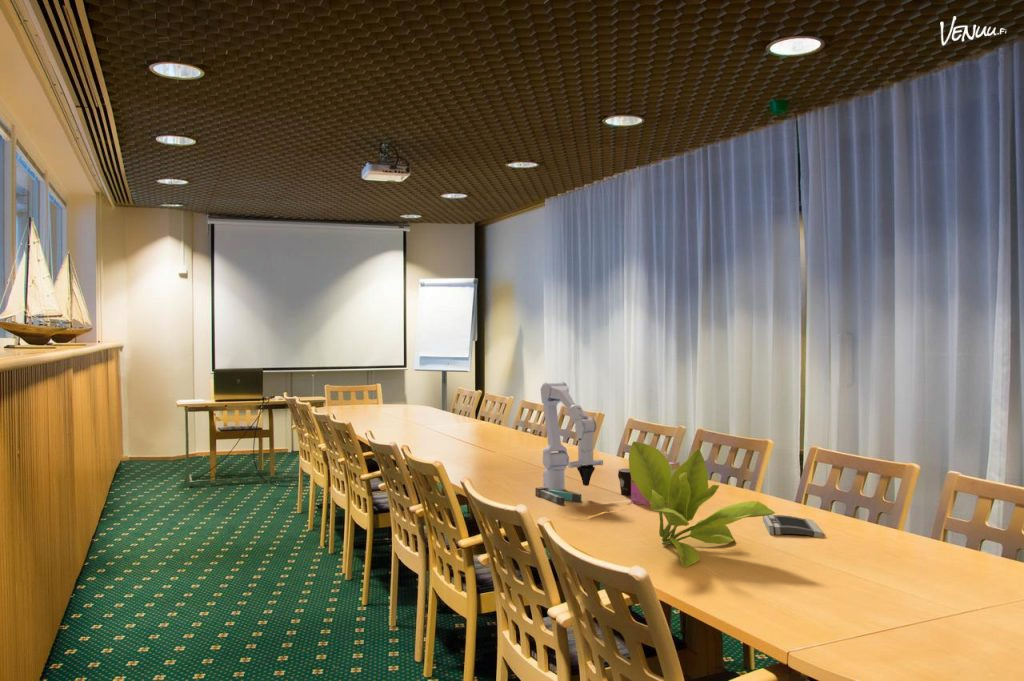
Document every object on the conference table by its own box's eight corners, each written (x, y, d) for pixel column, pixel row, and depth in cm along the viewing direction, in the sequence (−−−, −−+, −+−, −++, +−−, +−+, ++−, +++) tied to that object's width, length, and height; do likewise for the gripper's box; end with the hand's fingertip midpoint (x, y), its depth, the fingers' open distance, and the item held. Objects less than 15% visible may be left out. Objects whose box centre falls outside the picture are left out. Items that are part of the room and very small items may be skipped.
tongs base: (535, 495, 295) (535, 486, 295) (545, 494, 297) (545, 485, 297) (559, 505, 278) (559, 495, 278) (569, 504, 280) (569, 494, 280)
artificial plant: (631, 590, 205) (682, 512, 191) (583, 479, 240) (623, 406, 226) (752, 599, 221) (807, 527, 207) (690, 493, 256) (734, 426, 242)
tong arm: (548, 497, 292) (548, 490, 292) (551, 496, 293) (551, 489, 293) (578, 502, 283) (578, 494, 283) (581, 501, 284) (581, 494, 284)
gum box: (665, 493, 302) (665, 459, 302) (682, 496, 297) (682, 461, 297) (630, 502, 285) (630, 466, 285) (647, 506, 280) (647, 469, 280)
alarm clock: (762, 513, 255) (813, 511, 252) (763, 527, 255) (814, 525, 252) (769, 525, 238) (823, 524, 235) (770, 540, 238) (825, 539, 235)
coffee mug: (642, 497, 293) (642, 472, 293) (619, 497, 293) (619, 472, 293) (637, 491, 305) (637, 467, 305) (616, 491, 305) (616, 467, 305)
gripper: (574, 452, 283) (574, 488, 283) (607, 449, 289) (607, 485, 289) (565, 450, 289) (565, 485, 289) (597, 447, 295) (597, 482, 295)
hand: (585, 485), depth 289 cm, fingers closed
